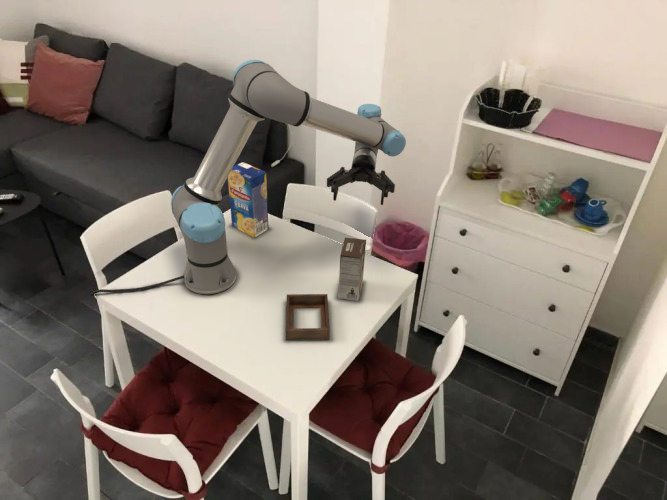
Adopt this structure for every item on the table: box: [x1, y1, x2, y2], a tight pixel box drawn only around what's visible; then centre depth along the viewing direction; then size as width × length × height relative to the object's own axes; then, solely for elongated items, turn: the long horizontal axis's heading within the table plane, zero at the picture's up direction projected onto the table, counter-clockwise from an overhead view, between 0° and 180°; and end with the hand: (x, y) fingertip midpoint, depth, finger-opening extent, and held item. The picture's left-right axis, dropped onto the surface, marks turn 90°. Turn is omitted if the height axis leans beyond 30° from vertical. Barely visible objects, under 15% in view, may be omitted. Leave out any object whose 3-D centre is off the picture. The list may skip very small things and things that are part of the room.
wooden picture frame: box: [285, 293, 331, 341], centre depth 149 cm, size 12×15×4 cm
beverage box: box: [227, 161, 269, 238], centre depth 181 cm, size 7×11×22 cm, turn 52°
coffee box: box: [337, 237, 367, 302], centre depth 157 cm, size 9×6×16 cm
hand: (358, 198), depth 154 cm, fingers open, 13 cm apart
